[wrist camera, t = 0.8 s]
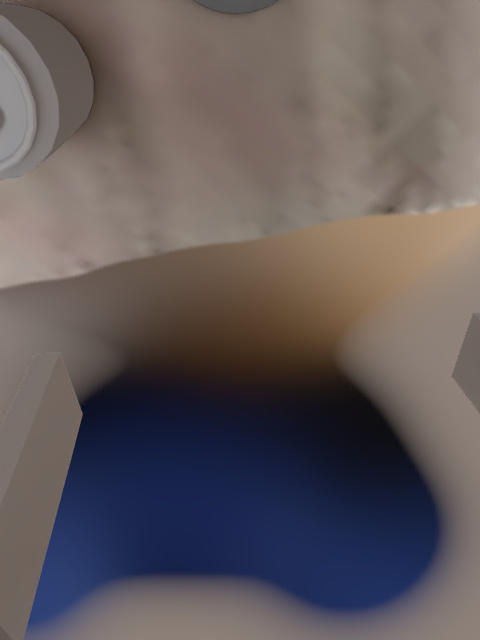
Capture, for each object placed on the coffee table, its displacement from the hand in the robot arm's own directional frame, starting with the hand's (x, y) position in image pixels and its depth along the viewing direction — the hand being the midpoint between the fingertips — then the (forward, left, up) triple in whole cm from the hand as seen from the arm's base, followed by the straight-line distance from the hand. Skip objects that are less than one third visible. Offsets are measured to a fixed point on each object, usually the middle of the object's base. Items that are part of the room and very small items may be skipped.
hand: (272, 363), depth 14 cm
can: (-6, -12, -23) cm, 27 cm away
